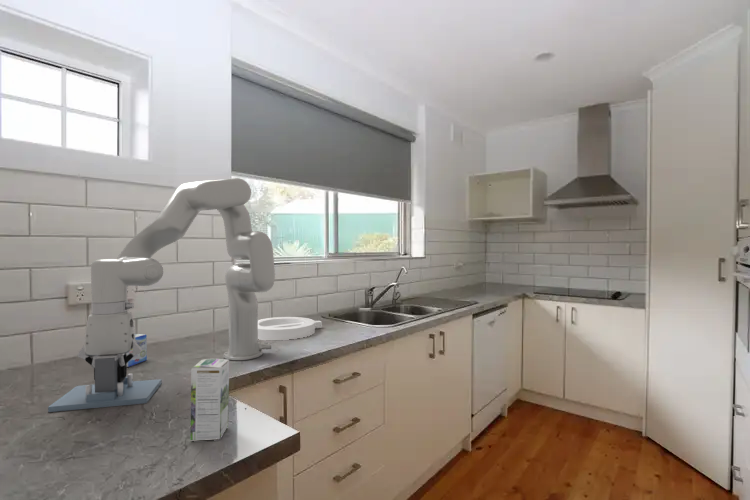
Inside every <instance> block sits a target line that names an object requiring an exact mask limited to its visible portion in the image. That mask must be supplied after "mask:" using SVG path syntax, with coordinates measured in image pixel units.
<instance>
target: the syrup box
mask: <svg viewBox="0 0 750 500" xmlns="http://www.w3.org/2000/svg"><path fill="white" fill-rule="evenodd" d="M229 398H230V360H228V359H226V358H206V359H204V358H203V359H200V361H199V362H198V363H196V364H195V365H194V366H192V368H191V369H190V425H189V426H190V436H189V437H190V438H189V440H205V439H216V438H217V439H218V438H221V436H222V435H223V433H224V431H225V430H226V428H227V427H228V428H229V412H230V410H229V407H230V406H229V405H230V404H229V402H230V401H229V400H230V399H229ZM228 428H227V429H228ZM226 431H227V430H226ZM226 431H225V432H226ZM224 434H225V433H224ZM223 436H224V435H223ZM223 436H222V437H223ZM221 439H222V438H221Z"/></svg>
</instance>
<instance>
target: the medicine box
mask: <svg viewBox="0 0 750 500" xmlns="http://www.w3.org/2000/svg"><path fill="white" fill-rule="evenodd" d="M135 339H136V343H137V344H138V345H139V346H140V348H141V349H142V351H141V352H140V353H139V354H138V355H136V356H134V357H133V358H132V359H131V360H130V361H129V362H128V363H127V368H130V367H133V366H135V365H137V364H140V363H143V362H146V361H147V360H148V359H147V358H148V357H147V356H148V353H147V351H148V349H147V343H148V342H147V341H148V340H147V339H148V338H147V334H146V333H144V334H143V333H135ZM131 352H133V349H131V350H130V351H129V352H128V353H127V355H129V354H130V353H131Z"/></svg>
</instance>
